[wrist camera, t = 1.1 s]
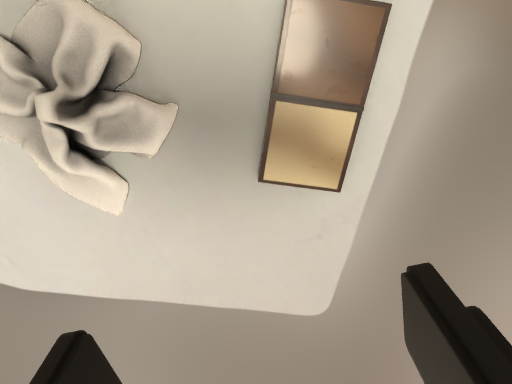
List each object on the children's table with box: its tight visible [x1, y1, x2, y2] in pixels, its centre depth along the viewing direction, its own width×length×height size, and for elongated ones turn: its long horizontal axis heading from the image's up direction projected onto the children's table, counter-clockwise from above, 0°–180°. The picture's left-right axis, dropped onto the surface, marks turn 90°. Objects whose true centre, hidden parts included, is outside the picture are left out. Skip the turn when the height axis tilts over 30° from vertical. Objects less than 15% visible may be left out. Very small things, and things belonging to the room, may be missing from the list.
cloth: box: [0, 0, 178, 216], centre depth 30 cm, size 22×19×6 cm
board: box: [258, 0, 392, 192], centre depth 32 cm, size 18×9×1 cm, turn 172°
